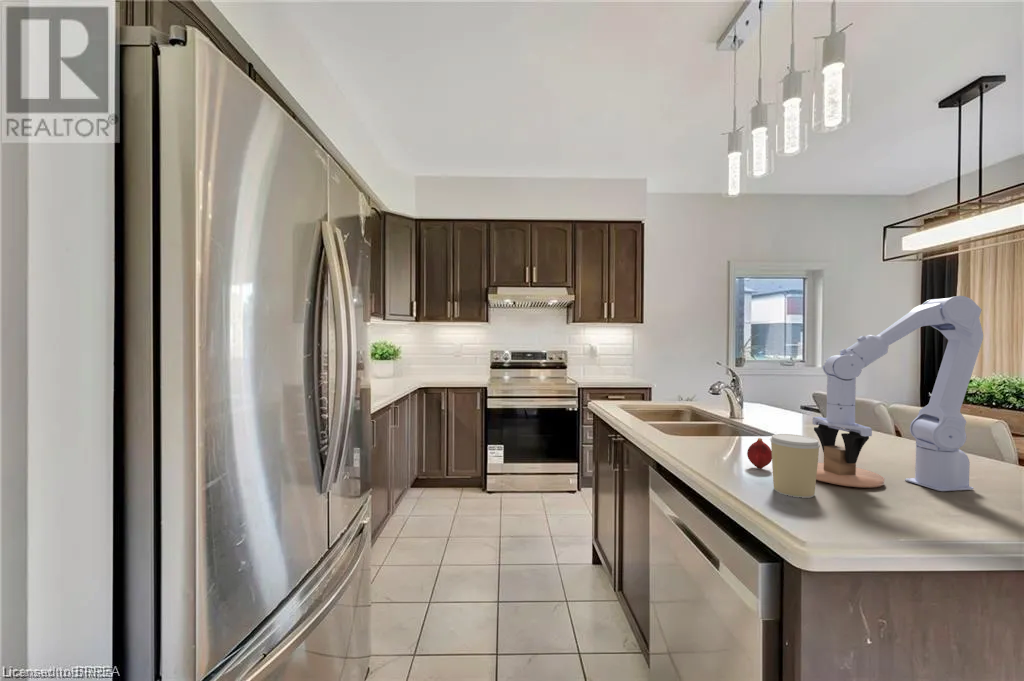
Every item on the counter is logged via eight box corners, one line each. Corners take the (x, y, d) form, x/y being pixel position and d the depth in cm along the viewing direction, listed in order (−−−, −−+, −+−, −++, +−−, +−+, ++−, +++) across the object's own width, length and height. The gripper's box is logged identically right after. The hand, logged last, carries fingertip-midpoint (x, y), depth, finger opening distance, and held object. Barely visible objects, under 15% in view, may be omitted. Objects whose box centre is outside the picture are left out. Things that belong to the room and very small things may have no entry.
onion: (775, 472, 115) (776, 441, 115) (751, 471, 116) (751, 440, 116) (767, 466, 121) (768, 436, 121) (744, 464, 122) (744, 435, 122)
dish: (838, 467, 121) (838, 461, 121) (903, 488, 104) (904, 481, 104) (782, 469, 118) (782, 463, 118) (840, 491, 101) (840, 485, 101)
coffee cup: (814, 488, 103) (815, 436, 103) (822, 502, 95) (824, 444, 95) (767, 482, 107) (768, 432, 107) (771, 495, 99) (772, 440, 98)
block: (839, 469, 114) (839, 445, 113) (855, 474, 109) (856, 449, 109) (823, 469, 113) (824, 445, 113) (839, 475, 108) (840, 450, 108)
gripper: (802, 400, 117) (801, 452, 117) (853, 409, 103) (852, 468, 103) (826, 399, 118) (825, 451, 119) (880, 408, 104) (879, 467, 104)
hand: (839, 459), depth 111 cm, fingers open, 6 cm apart
